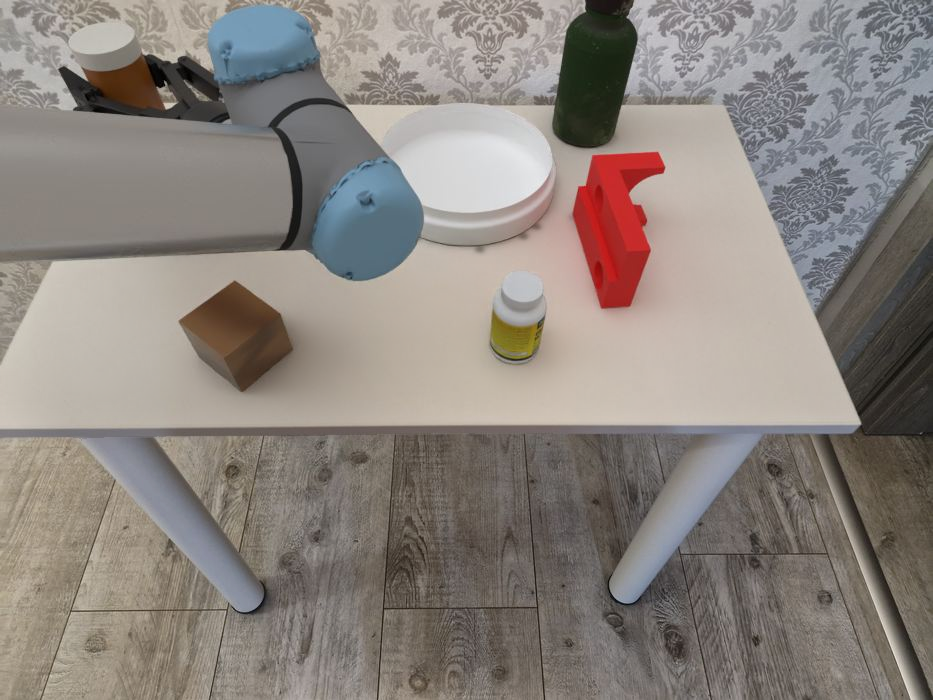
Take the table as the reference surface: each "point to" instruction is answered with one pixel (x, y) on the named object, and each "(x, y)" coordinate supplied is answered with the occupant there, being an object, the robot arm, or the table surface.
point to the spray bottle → (594, 72)
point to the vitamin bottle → (115, 64)
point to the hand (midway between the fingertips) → (96, 66)
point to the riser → (237, 335)
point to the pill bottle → (518, 317)
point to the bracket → (615, 223)
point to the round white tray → (473, 171)
